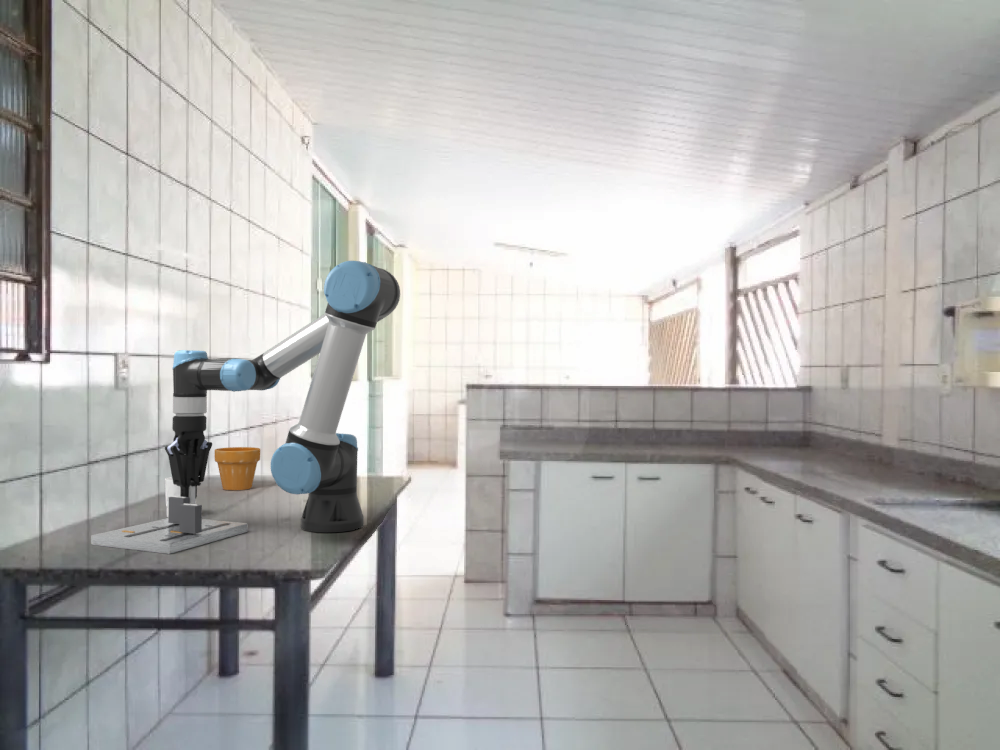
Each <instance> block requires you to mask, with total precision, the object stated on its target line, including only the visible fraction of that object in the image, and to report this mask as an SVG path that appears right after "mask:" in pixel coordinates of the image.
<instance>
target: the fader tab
mask: <svg viewBox="0 0 1000 750" xmlns="http://www.w3.org/2000/svg"><path fill="white" fill-rule="evenodd" d="M182 504H190V497H180V496H172V497H169V516H168V517H167V518H168V523H174V524H179V510H180V505H182Z"/></svg>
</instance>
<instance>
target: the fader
mask: <svg viewBox="0 0 1000 750" xmlns="http://www.w3.org/2000/svg"><path fill="white" fill-rule="evenodd" d="M202 515H203V505H202V504H197V503H196V504H182V505H180V510H179V532H183V533H192V534H196V533H200V532H202V519H203V516H202Z"/></svg>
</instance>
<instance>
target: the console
mask: <svg viewBox="0 0 1000 750" xmlns="http://www.w3.org/2000/svg"><path fill="white" fill-rule="evenodd" d="M248 527H249V525H248V523H247V522H237V521H228V520H217V519H208V518H202V532H200V533H196V534H192V533H183V532H179V524H174V523H168V517H166V518H163V519H158V520H153V521H150V522H146V523H145V522H144V523H140V524H136V525H130V526H127V527H122V528H119V529H114V530H109V531H104V532H100V533H95V534H91V535H90V544H91V545H93V546H101V547H109V548H114V549H115V548H117V549H125V550H133V551H142V552H150V553H160V554H167V555H171V554H175V553H178V552H182V551H185V550H188V549H191V548H196V547H199V546H202V545H206V544H210V543H214V542H216V541H220V540H224V539H228V538H231V537H234V536H238V535H241V534H245V533H248V531H249V530H248Z"/></svg>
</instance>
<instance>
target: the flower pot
mask: <svg viewBox="0 0 1000 750" xmlns="http://www.w3.org/2000/svg"><path fill="white" fill-rule="evenodd" d="M260 460H261V448H259V447H251V446H245V447H244V446H238V447H237V446H231V447H230V446H229V447H219V448H215V449H214V461H215V462H216V463H217V468H218V472H219V476H220V482H221V486H222V489H223V490H225V491H245V490H246V491H247V490H250V489H252V487H253V483H254V480H255V479H254V478H255V474H256V469H257V464H258V462H259V461H260Z"/></svg>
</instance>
